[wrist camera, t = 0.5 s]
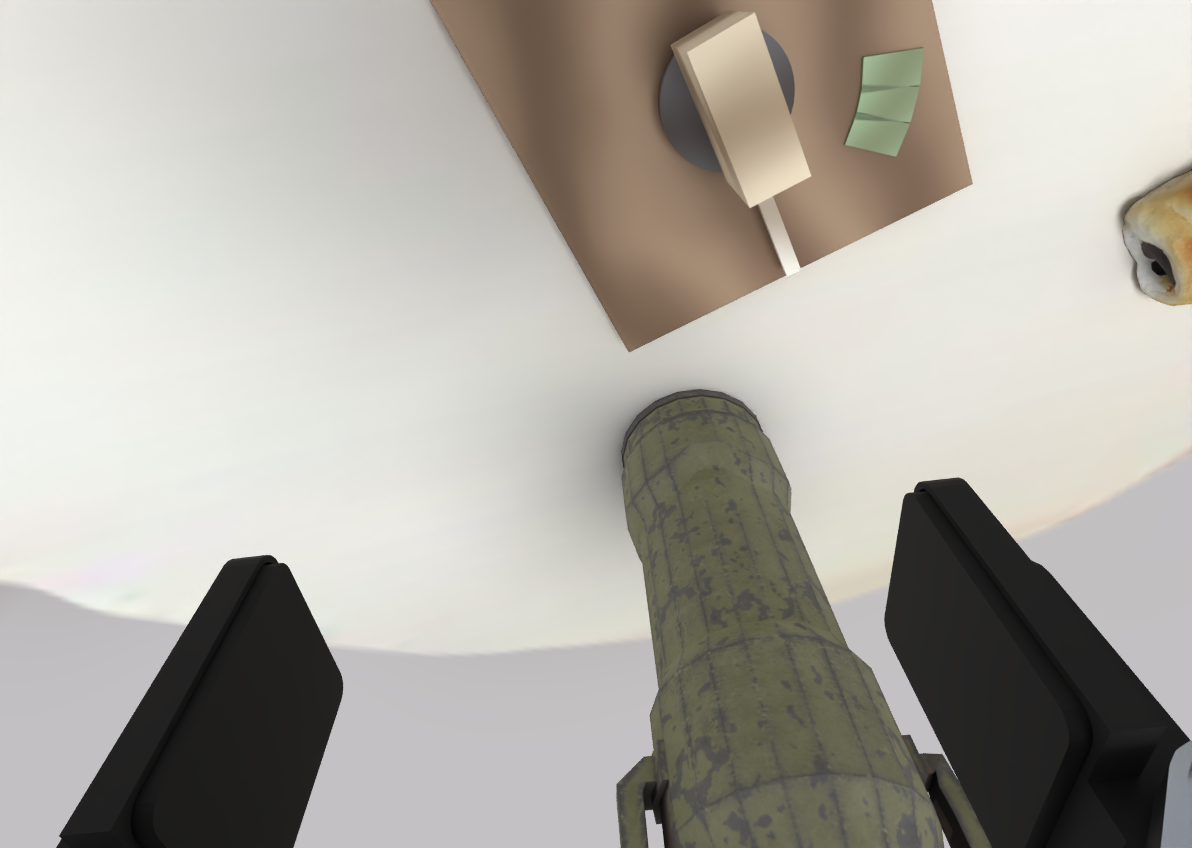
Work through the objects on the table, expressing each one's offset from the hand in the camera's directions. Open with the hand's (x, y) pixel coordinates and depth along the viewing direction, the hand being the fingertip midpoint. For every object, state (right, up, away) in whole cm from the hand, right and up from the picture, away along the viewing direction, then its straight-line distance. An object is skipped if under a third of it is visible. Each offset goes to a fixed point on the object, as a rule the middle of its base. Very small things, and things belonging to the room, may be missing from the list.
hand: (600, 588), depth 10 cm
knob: (+7, +15, +20) cm, 26 cm away
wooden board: (+5, +17, +20) cm, 27 cm away
